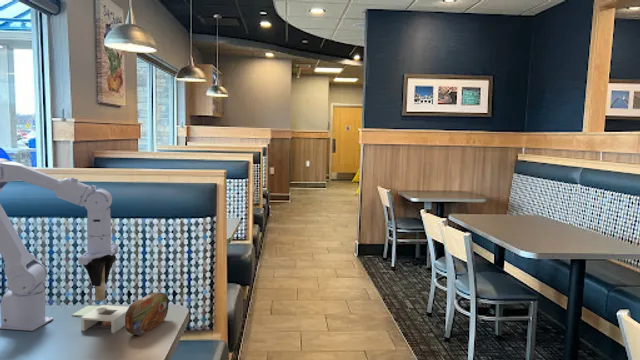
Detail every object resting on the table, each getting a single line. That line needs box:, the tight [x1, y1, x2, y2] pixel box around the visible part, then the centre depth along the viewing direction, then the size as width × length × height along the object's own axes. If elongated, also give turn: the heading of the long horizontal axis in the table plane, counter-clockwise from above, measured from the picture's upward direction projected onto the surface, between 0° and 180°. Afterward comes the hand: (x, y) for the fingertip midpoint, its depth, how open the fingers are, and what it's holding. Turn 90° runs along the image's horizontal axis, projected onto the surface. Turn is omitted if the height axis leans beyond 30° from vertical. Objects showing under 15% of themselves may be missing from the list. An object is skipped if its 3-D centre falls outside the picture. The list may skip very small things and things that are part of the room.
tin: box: [124, 291, 169, 336], centre depth 116 cm, size 15×3×8 cm, turn 165°
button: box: [101, 321, 111, 326], centre depth 118 cm, size 3×3×2 cm
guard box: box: [80, 304, 129, 334], centre depth 118 cm, size 9×9×4 cm
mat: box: [71, 305, 100, 318], centre depth 126 cm, size 7×7×1 cm
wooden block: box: [94, 265, 106, 302], centre depth 121 cm, size 2×2×10 cm
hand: (99, 284), depth 121 cm, fingers closed on wooden block, 2 cm apart
